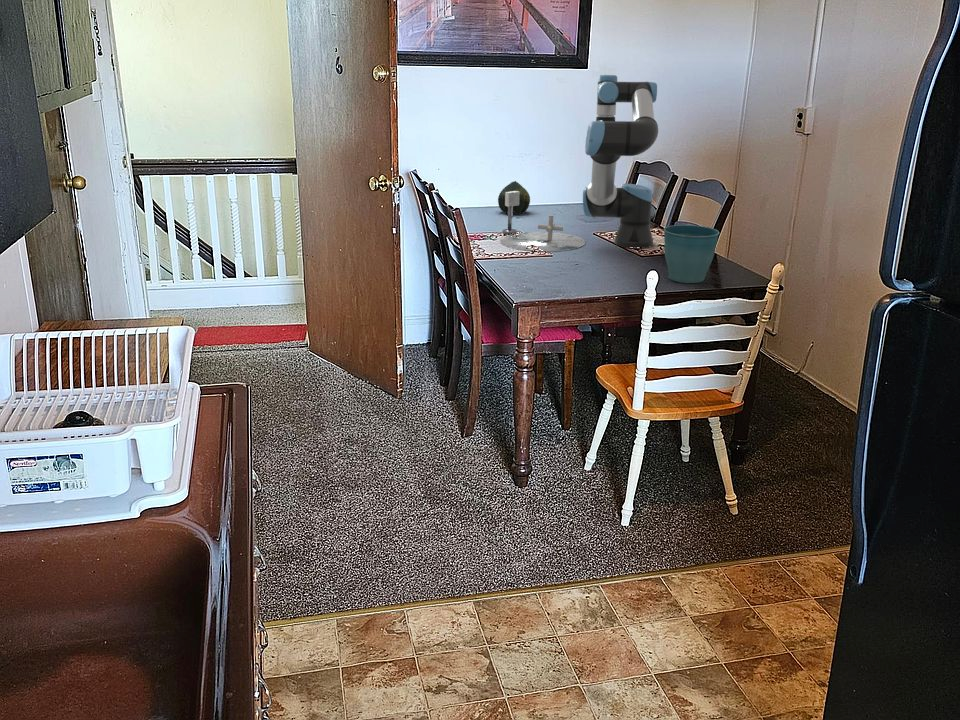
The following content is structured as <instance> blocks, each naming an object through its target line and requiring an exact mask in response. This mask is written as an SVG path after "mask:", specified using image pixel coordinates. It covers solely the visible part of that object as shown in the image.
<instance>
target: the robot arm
mask: <svg viewBox="0 0 960 720" xmlns="http://www.w3.org/2000/svg"><path fill="white" fill-rule="evenodd" d="M657 95H658V85H657V83H656V82H653V81H618V76H617V75H615V74H600V75H599V76H598V79H597V97H596V100H597V101H596V117H595V120H592V121H591V122H590V123H588V124H589V125H588V126H587V129H586V130H587V131H586V138H585V147H584V148H585V149H584V152H585V154H586V156H589V157H590V158H591V160H592V168H591V182H590V184H589V185H588V186H585V187H584V188H583V191H582V205H583V206H582V210H583V214H584V216H585V217H589V218H610V219H611V218H612V219H613V218H614V219H616V218H617V219H619V221H620V222H619V227H618V230H617V232H616V234H615V236H614V245H615V244H616V245H615V246H617V245H618V246H617V247H620V246H623V247H622V248H625V247H648V248H650V247H649V246H651V247H653V246H654V237H653V235H652V229H651V216H652V215H651V214H652V202H653V191H652V190H651V188H650V187H647V186H646V185H645V186H644V185H640V184H637V183H636V184H635V183H634V184H633V183H623V184H622V186H621V187H617V186H616V185H615V177H616V169H617V162H618V160H620V158H621V157H634V156H638V155H641V154H642V153H644V152H646V151H648V150H649V149H650V148H651V147H652V146H653V145H654V144H655V142H656V141H657V138H658V135H659V125H658V122H657V121H656V119H655V113H654V111H655V110H654V103H656V101H657ZM617 103H631V109H632V111H631V112H632V121H631V120H630V121H626V120H623V121H622V120H620V121H619V120H618V121H617V120H616V112H617V111H616V110H617ZM652 245H653V246H652Z"/></svg>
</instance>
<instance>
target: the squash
mask: <svg viewBox="0 0 960 720" xmlns="http://www.w3.org/2000/svg"><path fill="white" fill-rule="evenodd" d="M511 191H519V192H520V195H519V205H517V206H513V214H515V213H516V215H519V214H522V213H526V211H527V210H528V208H529V207H530V204H531V197H530V194H529V192H528V191H527V189H526V188H525V187H524V186H523V185H522V184H520V183H519V182H518V181H516V180H515V181H511V182H510V183H509V184H507V185H506V186H504V187H503V188H502V190H501V191H500V192H499V195H498V198H497V202H498V207H499V209H500V210H501V211H502V212H503V213H505V212H508V206H505V192H511Z"/></svg>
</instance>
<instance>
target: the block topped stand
mask: <svg viewBox="0 0 960 720" xmlns="http://www.w3.org/2000/svg"><path fill="white" fill-rule="evenodd" d="M519 195H520V192H519V191H511V192H505V206H508V213H507V228H504V229H502V231H501V232H503V233H502V234H504V233H507V234H506V235H511V234H510V233H516V232H517V229H515V228H512V226H513V222H512V219H513V218H514V217H513V216H514V215H513V214H514V211H513V206H517V205H519ZM516 234H517V233H516Z"/></svg>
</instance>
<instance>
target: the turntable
mask: <svg viewBox="0 0 960 720" xmlns="http://www.w3.org/2000/svg"><path fill="white" fill-rule="evenodd" d="M516 234H517V233H516ZM516 234H514V235H516ZM514 235H512V234H507V235H506V236H502V238H500V243H501V244H502V245H503V246H505V245H506V246H505V247H507V246H508V247H507V248H510V247H512V248H511V249H514V248H517V249H516V250H519V249H523V250H522V251H526V250H528V249H529V248H528V247H526V246H530V245H535V246H537V247H539V248H540V249H541V250H543V251H549V253H551V252H564V251H565V252H567V251H572V250H576V249H580V248H582V247H583V246H585V244H586V240H584V238H582V237H580V236H577V235H573V234H568V233H562V232H554V231H553V232H552V240H547V239H548V232H547V231H527V232H519V236H518V235H516V236H518V237H519V238H516V236H514ZM511 236H512V237H511ZM518 240H519V241H518ZM517 242H518V243H517ZM526 248H528V249H526Z"/></svg>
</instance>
